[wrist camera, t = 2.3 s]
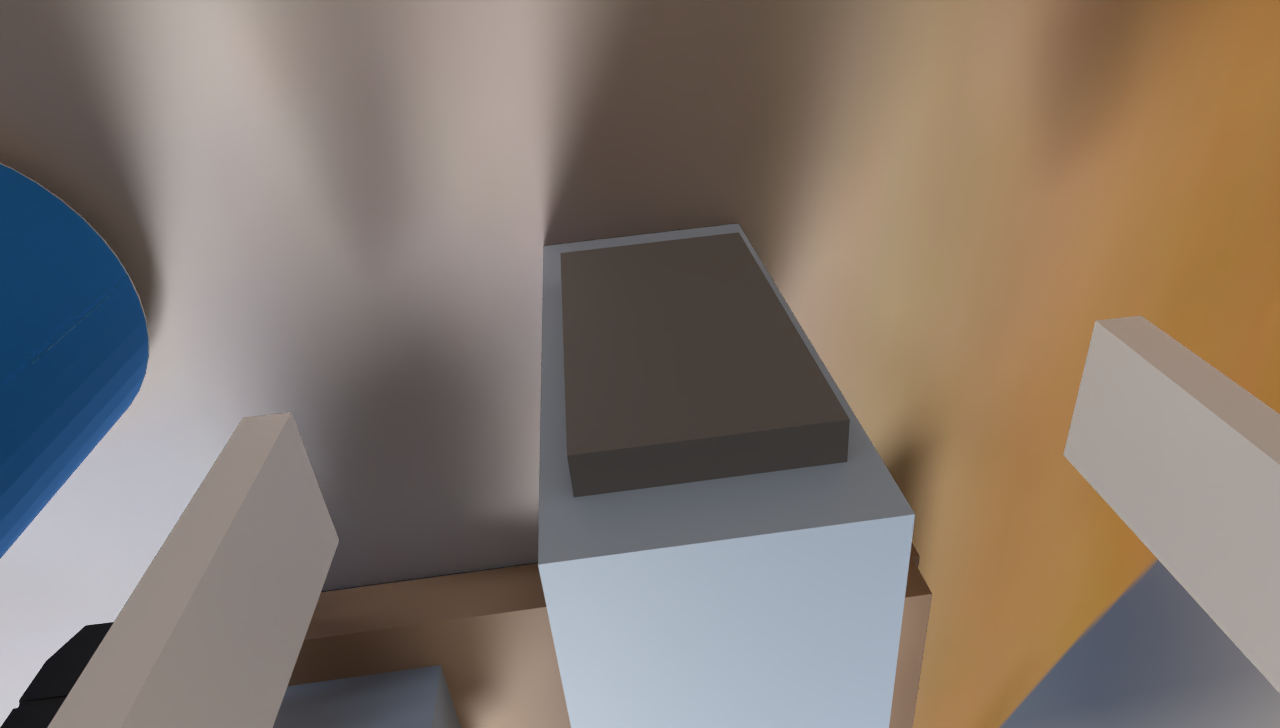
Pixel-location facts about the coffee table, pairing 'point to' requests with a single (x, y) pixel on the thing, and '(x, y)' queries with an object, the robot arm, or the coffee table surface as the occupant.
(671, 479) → the block
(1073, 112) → the coffee table surface
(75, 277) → the beverage can
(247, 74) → the coffee table surface
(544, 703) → the brown boxy frame piece
